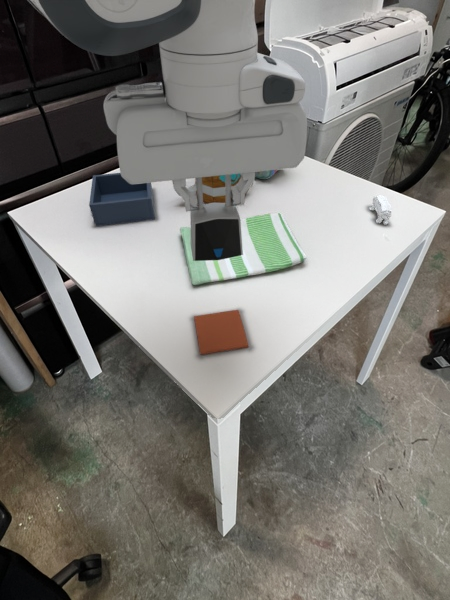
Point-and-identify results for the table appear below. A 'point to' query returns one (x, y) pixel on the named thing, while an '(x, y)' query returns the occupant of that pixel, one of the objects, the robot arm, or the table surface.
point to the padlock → (215, 227)
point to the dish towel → (249, 251)
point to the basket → (120, 200)
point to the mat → (220, 332)
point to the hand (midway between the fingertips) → (214, 205)
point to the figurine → (381, 209)
